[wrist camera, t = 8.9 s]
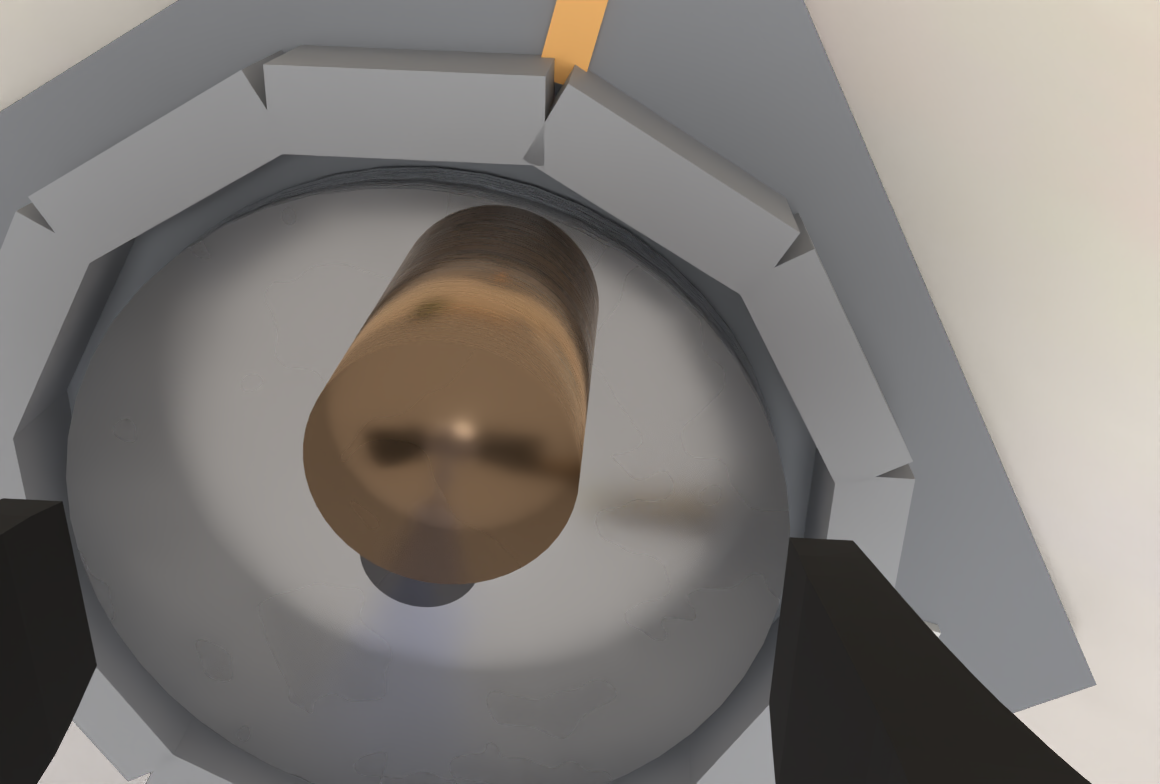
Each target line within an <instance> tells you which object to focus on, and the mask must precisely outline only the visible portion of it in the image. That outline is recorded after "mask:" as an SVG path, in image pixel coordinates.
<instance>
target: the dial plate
mask: <svg viewBox="0 0 1160 784" xmlns="http://www.w3.org/2000/svg"><path fill="white" fill-rule="evenodd" d="M402 167H436V168H444V169H452V170H460V171H468V172H476V173H484V174H489V175H493V176H496V177H500V178H504V179H508V180H512V181H516V182H520V183H524V184H528V185H531V186H535V187H538V188H540V189H543V190H545V191H548V192H550V193H553V194H555V195H558V196H560V197H563V198H565V199H568V200H570V201H573V202H575V203H578V204H580V205H583V206H585V207H586V208H588V209H590V210H592V211H594V212H595V213H597V214H599V215H601V216H603V217H604V218H606V219H608V220H610V221H612V222H614V223H615V224H617V225H619V226H621V227H623V228H624V229H626V230H628V231H629V232H630V233H632V234H633V235H634V236H636V237H637V238H638V239H640V240H641V241H643V242H644V243H645V244H647V245H648V246H649V247H651V248H652V249H653V250H655V251H656V252H657V253H659V254H660V255H662V256H663V257H664V258H666V259H667V260H668V261H669V262H670V263H671V264H672V265H673V266H674V267H675V268H676V269H677V270H678V271H679V272H680V273H681V274H682V275H683V276H684V277H685V278H686V279H688V280H689V281H690V282H691V283H692V284H693V285H694V286H695V287H696V288H697V289H698V290H699V291H700V292H701V293H702V294H703V296H704V297H705V298H706V299H707V301H708V302H709V303H710V305H711V306H712V307H713V308H714V310H715V311H716V312H717V313H718V315H719V316H720V317H721V319H722V320H723V321H724V322H725V324H726V325H727V326H728V327H729V329H730V330H731V332H732V334H733V335H734V337H735V339H736V341H737V342H738V344H739V346H740V347H741V349H742V351H743V353H744V354H745V356H746V358H747V359H748V361H749V363H750V365H751V366H752V368H753V371H754V373H755V376H756V378H757V381H758V383H759V386H760V388H761V391H762V393H763V395H764V398H765V400H766V403H767V405H768V408H769V412H770V417H771V421H772V425H773V429H774V433H775V437H776V441H777V446H778V450H779V454H780V459H781V463H782V468H783V472H784V477H785V481H786V486H787V497H788V509H789V521H790V537H794V538H814V539H834V540H853V541H854V542H855V543H856V544H857V545H858V547H859V548H860V549H861V550H862V551H863V552H864V553H865V555H866V556H867V557H868V558H869V559H870V560H871V561H872V563H873V564H874V565H875V566H876V567H877V568H878V569H879V571H880V572H881V573H882V574H883V575H884V576H885V578H886V579H887V580H888V581H889V582H890V583H891V584H892V586H893V587H894V588H895V589H896V590H897V591H898V593H899V594H900V595H901V596H902V597H903V598H904V600H905V601H906V602H907V603H908V604H909V605H910V606H911V607H912V609H913V610H914V611H915V612H916V613H917V614H918V615H919V617H920V618H921V619H922V620H923V621H924V622H925V623H926V625H927V626H928V627H929V628H930V629H931V630H932V631H933V632H934V633H935V634H936V636H937V637H938V638H939V639H940V640H941V641H942V642H943V643H944V644H945V645H946V646H947V648H948V649H949V650H950V651H951V652H952V653H953V654H954V655H955V656H956V657H957V658H958V659H959V660H960V661H961V662H962V663H963V664H964V665H965V667H966V668H967V669H968V670H969V671H970V672H971V673H972V674H973V675H974V676H975V677H976V678H977V679H978V680H979V681H980V682H981V683H982V684H983V685H984V686H985V687H986V688H987V689H988V690H989V691H990V692H991V693H992V694H993V695H994V696H995V697H996V698H997V699H998V700H999V701H1000V702H1001V703H1002V704H1003V705H1004V706H1005V707H1006V708H1008V709H1009V710H1010V711H1011V712H1012V713H1015V712H1018V711H1021V710H1024V709H1027V708H1030V707H1033V706H1036V705H1039V704H1042V703H1044V702H1047V701H1050V700H1053V699H1056V698H1059V697H1062V696H1065V695H1068V694H1071V693H1074V692H1077V691H1080V690H1083V689H1086V688H1089V687H1092V686H1094V685H1096V683H1095V680H1094V678H1093V676H1092V673H1091V671H1090V669H1089V666H1088V664H1087V662H1086V659H1085V657H1084V655H1083V652H1082V650H1081V648H1080V645H1079V643H1078V641H1077V638H1076V636H1075V633H1074V631H1073V629H1072V626H1071V624H1070V622H1069V619H1068V617H1067V615H1066V612H1065V610H1064V608H1063V605H1062V603H1061V601H1060V598H1059V596H1058V594H1057V591H1056V589H1055V587H1054V584H1053V582H1052V580H1051V577H1050V575H1049V573H1048V570H1047V568H1046V566H1045V563H1044V561H1043V559H1042V556H1041V554H1040V552H1039V549H1038V547H1037V545H1036V542H1035V540H1034V538H1033V535H1032V533H1031V531H1030V528H1029V526H1028V524H1027V521H1026V519H1025V517H1024V514H1023V512H1022V510H1021V507H1020V505H1019V503H1018V500H1017V498H1016V496H1015V493H1014V491H1013V489H1012V486H1011V484H1010V482H1009V479H1008V477H1007V475H1006V472H1005V470H1004V468H1003V465H1002V463H1001V461H1000V458H999V456H998V454H997V451H996V449H995V447H994V444H993V442H992V440H991V437H990V435H989V433H988V430H987V428H986V426H985V423H984V421H983V419H982V416H981V414H980V412H979V409H978V407H977V405H976V402H975V400H974V398H973V395H972V393H971V391H970V388H969V386H968V383H967V381H966V379H965V376H964V374H963V372H962V369H961V367H960V365H959V362H958V360H957V358H956V355H955V353H954V351H953V348H952V346H951V344H950V341H949V339H948V337H947V334H946V332H945V330H944V327H943V325H942V323H941V320H940V318H939V316H938V313H937V311H936V309H935V306H934V304H933V302H932V299H931V297H930V295H929V292H928V290H927V288H926V285H925V283H924V281H923V278H922V276H921V274H920V271H919V269H918V267H917V264H916V262H915V260H914V257H913V255H912V253H911V250H910V248H909V246H908V243H907V241H906V239H905V236H904V234H903V232H902V229H901V227H900V225H899V222H898V220H897V218H896V215H895V213H894V211H893V208H892V206H891V204H890V201H889V199H888V197H887V194H886V192H885V190H884V187H883V185H882V183H881V180H880V178H879V176H878V173H877V171H876V169H875V166H874V164H873V162H872V159H871V157H870V155H869V152H868V150H867V148H866V145H865V143H864V140H863V138H862V136H861V133H860V131H859V129H858V126H857V124H856V122H855V119H854V117H853V115H852V112H851V110H850V108H849V105H848V103H847V101H846V98H845V96H844V94H843V91H842V89H841V87H840V84H839V82H838V80H837V77H836V75H835V73H834V70H833V68H832V66H831V63H830V61H829V59H828V56H827V54H826V52H825V49H824V47H823V45H822V42H821V40H820V38H819V35H818V33H817V31H816V28H815V26H814V24H813V21H812V19H811V17H810V14H809V12H808V10H807V7H806V5H805V3H804V0H178V1H176V2H175V3H173V4H172V5H170V6H168V7H167V8H165V9H164V10H162V11H160V12H159V13H157V14H156V15H154V16H152V17H151V18H149V19H148V20H146V21H145V22H143V23H141V24H140V25H138V26H137V27H135V28H133V29H132V30H130V31H129V32H127V33H125V34H124V35H122V36H121V37H119V38H117V39H116V40H114V41H113V42H111V43H109V44H108V45H106V46H105V47H103V48H101V49H100V50H98V51H97V52H95V53H93V54H92V55H90V56H89V57H87V58H85V59H84V60H82V61H81V62H79V63H77V64H76V65H74V66H73V67H71V68H69V69H68V70H66V71H65V72H63V73H61V74H60V75H58V76H57V77H55V78H53V79H52V80H50V81H49V82H47V83H46V84H44V85H42V86H41V87H39V88H38V89H36V90H34V91H33V92H31V93H30V94H28V95H26V96H25V97H23V98H22V99H20V100H18V101H17V102H15V103H14V104H12V105H10V106H9V107H7V108H6V109H4V110H2V111H1V112H0V499H3V498H8V499H28V500H48V501H63V505H64V510H65V515H66V520H67V524H68V529H69V534H70V539H71V543H72V548H73V553H74V558H75V563H76V567H77V572H78V577H79V582H80V586H81V591H82V596H83V601H84V605H85V610H86V615H87V620H88V625H89V629H90V634H91V639H92V644H93V648H94V653H95V658H96V663H97V667H96V669H95V671H94V673H93V676H92V678H91V680H90V682H89V685H88V687H87V689H86V691H85V693H84V696H83V698H82V700H81V702H80V705H79V707H78V709H77V711H76V714H75V716H74V718H73V720H72V721H73V722H74V723H75V724H76V725H77V726H78V727H79V728H80V729H81V730H82V732H83V733H84V734H85V735H86V736H87V737H88V738H89V739H90V740H91V741H92V743H93V744H94V745H95V746H96V747H97V748H98V749H99V750H100V751H101V752H102V754H103V755H104V756H105V757H106V758H107V759H108V760H109V761H110V762H111V763H112V765H113V766H114V767H115V768H116V769H117V770H118V771H119V772H120V773H121V774H122V776H123V777H124V778H125V779H126V780H127V781H131V780H133V779H135V778H138V777H140V776H143V775H145V774H148V773H150V774H151V775H150V776H149V778H148V780H147V782H146V784H314V783H311V782H308V781H306V780H304V779H301V778H299V777H297V776H294V775H292V774H290V773H287V772H285V771H283V770H281V769H278V768H276V767H274V766H271V765H269V764H268V763H266V762H264V761H262V760H260V759H259V758H257V757H255V756H253V755H251V754H250V753H248V752H246V751H244V750H243V749H241V748H239V747H237V746H235V745H234V744H232V743H231V742H229V741H228V740H226V739H225V738H224V737H222V736H221V735H219V734H218V733H216V732H215V731H214V730H212V729H211V728H209V727H208V726H206V725H205V724H203V723H202V722H201V721H199V720H198V719H197V718H196V717H195V716H194V715H192V714H191V713H190V712H189V711H188V710H187V709H185V708H184V707H183V706H182V705H181V704H180V703H178V702H177V701H176V700H175V699H174V698H173V697H171V696H170V695H169V694H168V693H167V692H166V691H165V690H164V689H163V688H162V686H161V685H160V684H159V683H158V682H157V681H156V680H155V679H154V678H153V677H152V676H151V675H150V674H149V673H148V671H147V670H146V669H145V668H144V667H143V666H142V665H141V664H140V663H139V661H138V660H137V659H136V657H135V656H134V655H133V653H132V652H131V650H130V649H129V648H128V646H127V645H126V644H125V642H124V641H123V640H122V638H121V637H120V636H119V634H118V633H117V632H116V630H115V628H114V627H113V625H112V623H111V621H110V620H109V618H108V616H107V614H106V612H105V611H104V609H103V607H102V605H101V604H100V602H99V600H98V598H97V597H96V595H95V592H94V590H93V587H92V585H91V582H90V580H89V578H88V575H87V573H86V570H85V568H84V565H83V563H82V560H81V558H80V554H79V550H78V547H77V543H76V539H75V535H74V531H73V527H72V523H71V519H70V511H69V502H68V493H67V483H66V466H67V444H68V434H69V429H70V425H71V420H72V415H73V410H74V405H75V400H76V396H77V394H78V391H79V389H80V386H81V383H82V381H83V378H84V375H85V373H86V370H87V368H88V365H89V362H90V360H91V358H92V356H93V354H94V353H95V351H96V349H97V347H98V346H99V344H100V342H101V341H102V339H103V337H104V335H105V334H106V332H107V330H108V329H109V327H110V325H111V323H112V322H113V320H114V319H115V318H116V317H117V316H118V314H119V313H120V312H121V311H122V310H123V308H124V307H125V306H126V305H127V304H128V302H129V301H130V300H131V299H132V298H133V296H134V295H135V294H136V293H137V292H138V290H139V289H140V288H141V287H142V286H143V285H144V284H145V283H146V282H148V281H149V280H150V279H151V278H152V277H153V276H154V275H156V274H157V273H158V272H159V271H160V270H161V269H162V268H164V267H165V266H166V265H167V264H168V263H169V262H170V261H172V260H173V259H174V258H175V257H176V256H177V255H179V254H180V253H181V252H182V251H184V250H185V249H186V248H187V247H188V246H190V245H191V244H192V243H193V242H194V241H196V240H197V239H198V238H199V237H201V236H202V235H203V234H204V233H205V232H207V231H208V230H210V229H211V228H213V227H214V226H216V225H217V224H219V223H221V222H222V221H224V220H225V219H227V218H228V217H230V216H232V215H233V214H235V213H236V212H238V211H239V210H241V209H243V208H244V207H246V206H248V205H250V204H253V203H255V202H257V201H259V200H262V199H264V198H266V197H268V196H271V195H273V194H275V193H277V192H280V191H282V190H284V189H286V188H289V187H292V186H296V185H299V184H303V183H306V182H310V181H313V180H317V179H321V178H324V177H328V176H331V175H335V174H342V173H349V172H356V171H363V170H370V169H377V168H402ZM783 586H784V585H783ZM782 594H783V589H782V593H781V597H780V602H779V606H778V609H777V612H776V614H775V617H774V619H773V621H772V624H771V626H770V629H769V631H768V634H767V636H766V639H765V641H764V644H763V645H762V647H761V649H760V651H759V652H758V654H757V656H756V657H755V659H754V661H753V662H752V664H751V666H750V667H749V669H748V671H747V673H746V674H745V676H744V677H743V679H742V680H741V681H740V682H739V684H738V685H737V686H736V687H735V689H734V690H733V691H732V692H731V694H730V695H729V696H728V697H727V699H726V700H725V701H724V702H723V704H722V705H721V706H720V707H719V708H718V709H717V710H716V711H715V712H714V713H713V714H712V715H711V716H710V717H709V718H707V719H706V720H705V721H704V722H703V723H702V724H701V725H700V726H699V727H698V728H697V729H696V730H695V731H694V732H693V733H691V734H690V735H689V736H687V737H686V738H685V739H683V740H682V741H680V742H679V743H678V744H676V745H675V746H674V747H672V748H671V749H669V750H668V751H667V752H665V753H664V754H662V755H661V756H659V757H658V758H656V759H654V760H652V761H650V762H649V763H647V764H645V765H643V766H641V767H639V768H638V769H636V770H634V771H632V772H630V773H629V774H627V775H624V776H622V777H620V778H617V779H615V780H612V781H610V782H607V783H605V784H775V773H774V762H773V750H772V737H771V723H770V710H769V699H770V690H771V682H772V674H773V666H774V658H775V650H776V642H777V634H778V626H779V618H780V610H781V602H782Z"/></svg>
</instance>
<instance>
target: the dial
mask: <svg viewBox="0 0 1160 784" xmlns="http://www.w3.org/2000/svg"><path fill="white" fill-rule="evenodd" d="M66 483H67V493H68V502H69V511H70V519H71V523H72V527H73V531H74V535H75V539H76V543H77V547H78V550H79V554H80V558H81V560H82V563H83V565H84V568H85V570H86V573H87V575H88V578H89V580H90V582H91V585H92V587H93V590H94V592H95V595H96V597H97V598H98V600H99V602H100V604H101V605H102V607H103V609H104V611H105V612H106V614H107V616H108V618H109V620H110V621H111V623H112V625H113V627H114V628H115V630H116V632H117V633H118V634H119V636H120V637H121V638H122V640H123V641H124V642H125V644H126V645H127V646H128V648H129V649H130V650H131V652H132V653H133V655H134V656H135V657H136V659H137V660H138V661H139V663H140V664H141V665H142V666H143V667H144V668H145V669H146V670H147V671H148V673H149V674H150V675H151V676H152V677H153V678H154V679H155V680H156V681H157V682H158V683H159V684H160V685H161V686H162V688H163V689H164V690H165V691H166V692H167V693H168V694H169V695H170V696H171V697H173V698H174V699H175V700H176V701H177V702H178V703H180V704H181V705H182V706H183V707H184V708H185V709H187V710H188V711H189V712H190V713H191V714H192V715H194V716H195V717H196V718H197V719H198V720H199V721H201V722H202V723H203V724H205V725H206V726H208V727H209V728H211V729H212V730H214V731H215V732H216V733H218V734H219V735H221V736H222V737H224V738H225V739H226V740H228V741H229V742H231V743H232V744H234V745H235V746H237V747H239V748H241V749H243V750H244V751H246V752H248V753H250V754H251V755H253V756H255V757H257V758H259V759H260V760H262V761H264V762H266V763H268V764H269V765H271V766H274V767H276V768H278V769H281V770H283V771H285V772H287V773H290V774H292V775H294V776H297V777H299V778H301V779H304V780H306V781H308V782H311V783H314V784H605V783H607V782H610V781H612V780H615V779H617V778H620V777H622V776H624V775H627V774H629V773H630V772H632V771H634V770H636V769H638V768H639V767H641V766H643V765H645V764H647V763H649V762H650V761H652V760H654V759H656V758H658V757H659V756H661V755H662V754H664V753H665V752H667V751H668V750H669V749H671V748H672V747H674V746H675V745H676V744H678V743H679V742H680V741H682V740H683V739H685V738H686V737H687V736H689V735H690V734H691V733H693V732H694V731H695V730H696V729H697V728H698V727H699V726H700V725H701V724H702V723H703V722H704V721H705V720H706V719H707V718H709V717H710V716H711V715H712V714H713V713H714V712H715V711H716V710H717V709H718V708H719V707H720V706H721V705H722V704H723V702H724V701H725V700H726V699H727V697H728V696H729V695H730V694H731V692H732V691H733V690H734V689H735V687H736V686H737V685H738V684H739V682H740V681H741V680H742V679H743V677H744V676H745V674H746V673H747V671H748V669H749V667H750V666H751V664H752V662H753V661H754V659H755V657H756V656H757V654H758V652H759V651H760V649H761V647H762V645H763V644H764V641H765V639H766V636H767V634H768V631H769V629H770V626H771V624H772V621H773V619H774V617H775V614H776V612H777V609H778V606H779V602H780V597H781V593H782V589H783V585H784V578H785V569H786V561H787V553H788V545H789V537H790V521H789V509H788V497H787V486H786V481H785V477H784V472H783V468H782V463H781V459H780V454H779V450H778V446H777V441H776V437H775V433H774V429H773V425H772V421H771V417H770V412H769V408H768V405H767V403H766V400H765V398H764V395H763V393H762V391H761V388H760V386H759V383H758V381H757V378H756V376H755V373H754V371H753V368H752V366H751V365H750V363H749V361H748V359H747V358H746V356H745V354H744V353H743V351H742V349H741V347H740V346H739V344H738V342H737V341H736V339H735V337H734V335H733V334H732V332H731V330H730V329H729V327H728V326H727V325H726V324H725V322H724V321H723V320H722V319H721V317H720V316H719V315H718V313H717V312H716V311H715V310H714V308H713V307H712V306H711V305H710V303H709V302H708V301H707V299H706V298H705V297H704V296H703V294H702V293H701V292H700V291H699V290H698V289H697V288H696V287H695V286H694V285H693V284H692V283H691V282H690V281H689V280H688V279H686V278H685V277H684V276H683V275H682V274H681V273H680V272H679V271H678V270H677V269H676V268H675V267H674V266H673V265H672V264H671V263H670V262H669V261H668V260H667V259H666V258H664V257H663V256H662V255H660V254H659V253H657V252H656V251H655V250H653V249H652V248H651V247H649V246H648V245H647V244H645V243H644V242H643V241H641V240H640V239H638V238H637V237H636V236H634V235H633V234H632V233H630V232H629V231H628V230H626V229H624V228H623V227H621V226H619V225H617V224H615V223H614V222H612V221H610V220H608V219H606V218H604V217H603V216H601V215H599V214H597V213H595V212H594V211H592V210H590V209H588V208H586V207H585V206H583V205H580V204H578V203H575V202H573V201H570V200H568V199H565V198H563V197H560V196H558V195H555V194H553V193H550V192H548V191H545V190H543V189H540V188H538V187H535V186H531V185H528V184H524V183H520V182H516V181H512V180H508V179H504V178H500V177H496V176H493V175H489V174H484V173H476V172H468V171H460V170H452V169H444V168H436V167H402V168H377V169H370V170H363V171H356V172H349V173H342V174H335V175H331V176H328V177H324V178H321V179H317V180H313V181H310V182H306V183H303V184H299V185H296V186H292V187H289V188H286V189H284V190H282V191H280V192H277V193H275V194H273V195H271V196H268V197H266V198H264V199H262V200H259V201H257V202H255V203H253V204H250V205H248V206H246V207H244V208H243V209H241V210H239V211H238V212H236V213H235V214H233V215H232V216H230V217H228V218H227V219H225V220H224V221H222V222H221V223H219V224H217V225H216V226H214V227H213V228H211V229H210V230H208V231H207V232H205V233H204V234H203V235H202V236H201V237H199V238H198V239H197V240H196V241H194V242H193V243H192V244H191V245H190V246H188V247H187V248H186V249H185V250H184V251H182V252H181V253H180V254H179V255H177V256H176V257H175V258H174V259H173V260H172V261H170V262H169V263H168V264H167V265H166V266H165V267H164V268H162V269H161V270H160V271H159V272H158V273H157V274H156V275H154V276H153V277H152V278H151V279H150V280H149V281H148V282H146V283H145V284H144V285H143V286H142V287H141V288H140V289H139V290H138V292H137V293H136V294H135V295H134V296H133V298H132V299H131V300H130V301H129V302H128V304H127V305H126V306H125V307H124V308H123V310H122V311H121V312H120V313H119V314H118V316H117V317H116V318H115V319H114V320H113V322H112V323H111V325H110V327H109V329H108V330H107V332H106V334H105V335H104V337H103V339H102V341H101V342H100V344H99V346H98V347H97V349H96V351H95V353H94V354H93V356H92V358H91V360H90V362H89V365H88V368H87V370H86V373H85V375H84V378H83V381H82V383H81V386H80V389H79V391H78V394H77V396H76V400H75V405H74V410H73V415H72V420H71V425H70V429H69V434H68V444H67V466H66Z"/></svg>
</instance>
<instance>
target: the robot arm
mask: <svg viewBox="0 0 1160 784" xmlns="http://www.w3.org/2000/svg"><path fill="white" fill-rule="evenodd" d="M96 667H97V663H96V658H95V653H94V648H93V644H92V639H91V634H90V629H89V625H88V620H87V615H86V610H85V605H84V601H83V596H82V591H81V586H80V582H79V577H78V572H77V567H76V563H75V558H74V553H73V548H72V543H71V539H70V534H69V529H68V524H67V520H66V515H65V510H64V505H63V501H48V500H28V499H8V498H3V499H0V784H37V783H38V781H39V780H40V778H41V777H42V775H43V773H44V772H45V770H46V769H47V767H48V765H49V764H50V762H51V761H52V759H53V757H54V756H55V754H56V752H57V750H58V748H59V746H60V744H61V742H62V740H63V738H64V736H65V734H66V732H67V730H68V728H69V726H70V724H71V722H72V720H73V718H74V716H75V714H76V711H77V709H78V707H79V705H80V702H81V700H82V698H83V696H84V693H85V691H86V689H87V687H88V685H89V682H90V680H91V678H92V676H93V673H94V671H95V669H96ZM769 710H770V723H771V737H772V750H773V762H774V773H775V784H1091V783H1090V782H1089V781H1088V780H1086V779H1085V778H1084V777H1083V776H1082V775H1080V774H1079V773H1078V772H1077V771H1076V770H1075V769H1073V768H1072V767H1071V766H1070V765H1069V764H1068V763H1066V762H1065V761H1064V760H1063V759H1062V758H1061V757H1060V756H1058V755H1057V754H1056V753H1055V752H1054V751H1053V750H1052V749H1050V748H1049V747H1048V746H1047V745H1046V744H1045V743H1044V742H1043V741H1042V740H1041V739H1040V738H1039V737H1038V736H1036V735H1035V734H1034V733H1033V732H1032V731H1031V730H1030V729H1029V728H1028V727H1027V726H1026V725H1025V724H1024V723H1023V722H1021V721H1020V720H1019V719H1018V718H1017V717H1016V716H1015V715H1014V714H1013V713H1012V712H1011V711H1010V710H1009V709H1008V708H1006V707H1005V706H1004V705H1003V704H1002V703H1001V702H1000V701H999V700H998V699H997V698H996V697H995V696H994V695H993V694H992V693H991V692H990V691H989V690H988V689H987V688H986V687H985V686H984V685H983V684H982V683H981V682H980V681H979V680H978V679H977V678H976V677H975V676H974V675H973V674H972V673H971V672H970V671H969V670H968V669H967V668H966V667H965V665H964V664H963V663H962V662H961V661H960V660H959V659H958V658H957V657H956V656H955V655H954V654H953V653H952V652H951V651H950V650H949V649H948V648H947V646H946V645H945V644H944V643H943V642H942V641H941V640H940V639H939V638H938V637H937V636H936V634H935V633H934V632H933V631H932V630H931V629H930V628H929V627H928V626H927V625H926V623H925V622H924V621H923V620H922V619H921V618H920V617H919V615H918V614H917V613H916V612H915V611H914V610H913V609H912V607H911V606H910V605H909V604H908V603H907V602H906V601H905V600H904V598H903V597H902V596H901V595H900V594H899V593H898V591H897V590H896V589H895V588H894V587H893V586H892V584H891V583H890V582H889V581H888V580H887V579H886V578H885V576H884V575H883V574H882V573H881V572H880V571H879V569H878V568H877V567H876V566H875V565H874V564H873V563H872V561H871V560H870V559H869V558H868V557H867V556H866V555H865V553H864V552H863V551H862V550H861V549H860V548H859V547H858V545H857V544H856V543H855V542H854V541H853V540H834V539H814V538H794V537H789V545H788V553H787V561H786V569H785V578H784V586H783V594H782V602H781V610H780V618H779V626H778V634H777V642H776V650H775V658H774V666H773V674H772V682H771V690H770V699H769Z"/></svg>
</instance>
